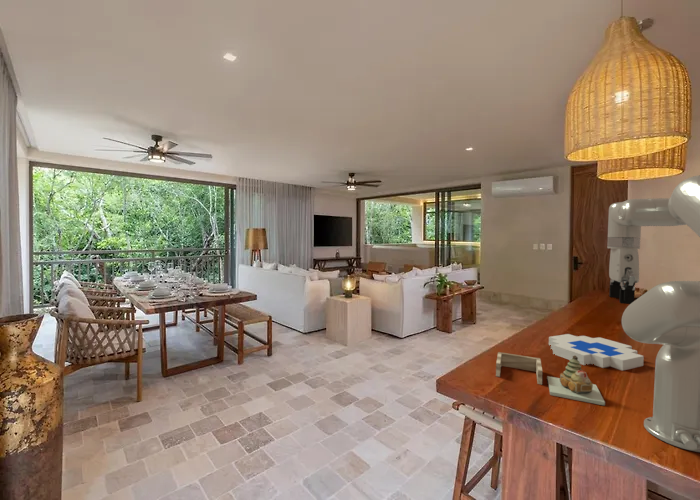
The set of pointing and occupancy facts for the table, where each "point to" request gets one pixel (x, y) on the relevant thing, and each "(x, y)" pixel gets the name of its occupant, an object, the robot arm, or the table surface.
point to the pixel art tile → (596, 351)
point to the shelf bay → (519, 364)
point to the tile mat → (565, 392)
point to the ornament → (576, 377)
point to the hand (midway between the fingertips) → (620, 300)
